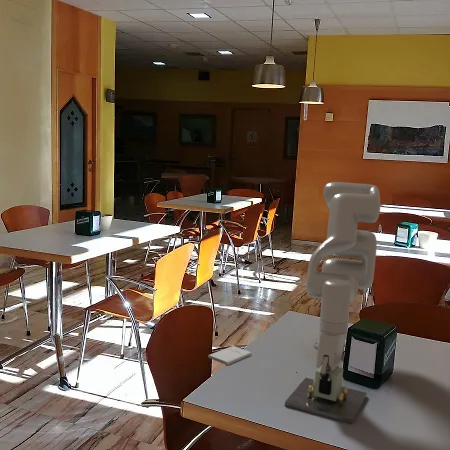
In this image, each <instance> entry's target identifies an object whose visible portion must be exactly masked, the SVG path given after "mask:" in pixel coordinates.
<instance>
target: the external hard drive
mask: <svg viewBox="0 0 450 450" xmlns="http://www.w3.org/2000/svg"><path fill="white" fill-rule="evenodd" d="M250 356H252V352H251V351H248V350H246V349H243V348H240V347H237V346H235V345H232V346H229V347H227V348H224V349H221V350H218V351H216V352H213V353H211V354H208V356H207V357H208V359H210V360H213V361H215V362H219V363H221V364H223V365H225V366H229V365H231V364H233V363H236V362H239V361H242V360H243V359H246V358H249V357H250Z"/></svg>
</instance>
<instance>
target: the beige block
mask: <svg viewBox="0 0 450 450" xmlns="http://www.w3.org/2000/svg"><path fill="white" fill-rule="evenodd" d="M321 367H322V365H321V366H320V368H317V369H316V370H315V375H314V377H315V378H314V379H315V386H314V396H317V397H321V398H325V399H329V400H333V401H336V399H337V398H338V396H339V393H341V387H343V386H342V385H343V375H344V368H342V367H339V368H338V367H336V368H335V369H334V370H333V371H332V375H331V381H332V385H331V394H330V395H326V394H322V393H319V381H320V370H321ZM330 368H331V367H328V366H327V369H330ZM326 373H328V376H329V371H326Z"/></svg>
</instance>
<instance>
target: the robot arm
mask: <svg viewBox="0 0 450 450" xmlns="http://www.w3.org/2000/svg"><path fill="white" fill-rule="evenodd" d="M323 198H324V201H325V204H326V207H327V209H328V213H329V214H328V221H327V222H328V223H327V230H326V231H327V233H326V239H325V240H324V241H323V242H322V243H321V244H319V246H317V248H316V249H315V250H314V251H313V252H312V254H311V256H310V259H309V261H308V266H307V274H306V283H305V290H306V293H307V295H308V296H309V297H310V298H314V299H319V300H321V304H320V314H319V325H318V338H315V339H314V341H313V346H314V347H315V348H316V349H317V356H316V362H315V366H316V368H317V369H318V368H320V366H321V365H322V367H321V370H320V381H319V393H322V394H326V395H330V394H331V385H332V381H331V375H332V371H333V370H334V369H335V368H336V367H338V368H340V366H339V364H340V363H341V362H342V358H343V352H344V347H345V340H346V341H347V335H346V334H348V329H349V319H350V310H351V308H350V307H351V302H352V301H353V300H354V299H355V298H356V297H357V296H358V292H359V289H360V290H368V289H369V288H371V287H372V285H373V283H374V279H375V278H374V277H375V270H376V269H375V267H376V258H377V257H376V256H377V243H378V242H377V236H376V234H375V233H374V232H372V231H369V230H362V229H358V224H359V223H368V224H369V223H370V224H372V223H373V224H374V223H376V222H377V221H378V219H379V217H380V213H381V195H380V189H379V188H378V186H377V185H374V184H369V183H355V182H354V183H353V182H345V181H344V182H342V181H331V182H328V183H326V184H325V185H324V187H323ZM331 255H333V256H336V257H333V258H328V259H326V260H325V258H326V257H330V256H331ZM337 257H338V258H337ZM339 257H342V258H339ZM345 258H346V259H345ZM347 258H353V259H347ZM354 259H357V260H354ZM358 259H360V260H358ZM322 260H324V261H323V263H322V266H321V271H318V269H319V264H320V263H321V262H322ZM344 353H345V352H344ZM327 366H328V367H331V368H330V369H327ZM326 371H329V376H328V373H326Z"/></svg>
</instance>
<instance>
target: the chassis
mask: <svg viewBox="0 0 450 450" xmlns="http://www.w3.org/2000/svg"><path fill="white" fill-rule="evenodd" d="M314 386H315V378H314V379H313V378H309V377H305V378H304V379H303V380H302V381H301V383H300V384H299V385H298V386H297V387H296V389H294V391H293V392H292V393H291V394H290V396H289V397H288V398H287V399H286V400H285V402H284V406H285V407H288V408H290V409H295V410H297V411H298V410H299V411H302V412H305V413H309V414H314V415H317V416H319V417H324V418H328V419H331V420H335V421H339V422H343V423H346V424H350V425H353V423H354V421H355V420H356V417H357V415H358V413H359V412H360V410H361V408H362V406H363V404H364V402H365V400H366V399H367V396H368V395H367V394H368V392H366V391H362V390H357V389H355V388H349V387H348V386H342V387H341V393H339V396H338V398H337V399H336V401H333V400H329V399H325V398H321V397H317V396H314Z"/></svg>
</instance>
